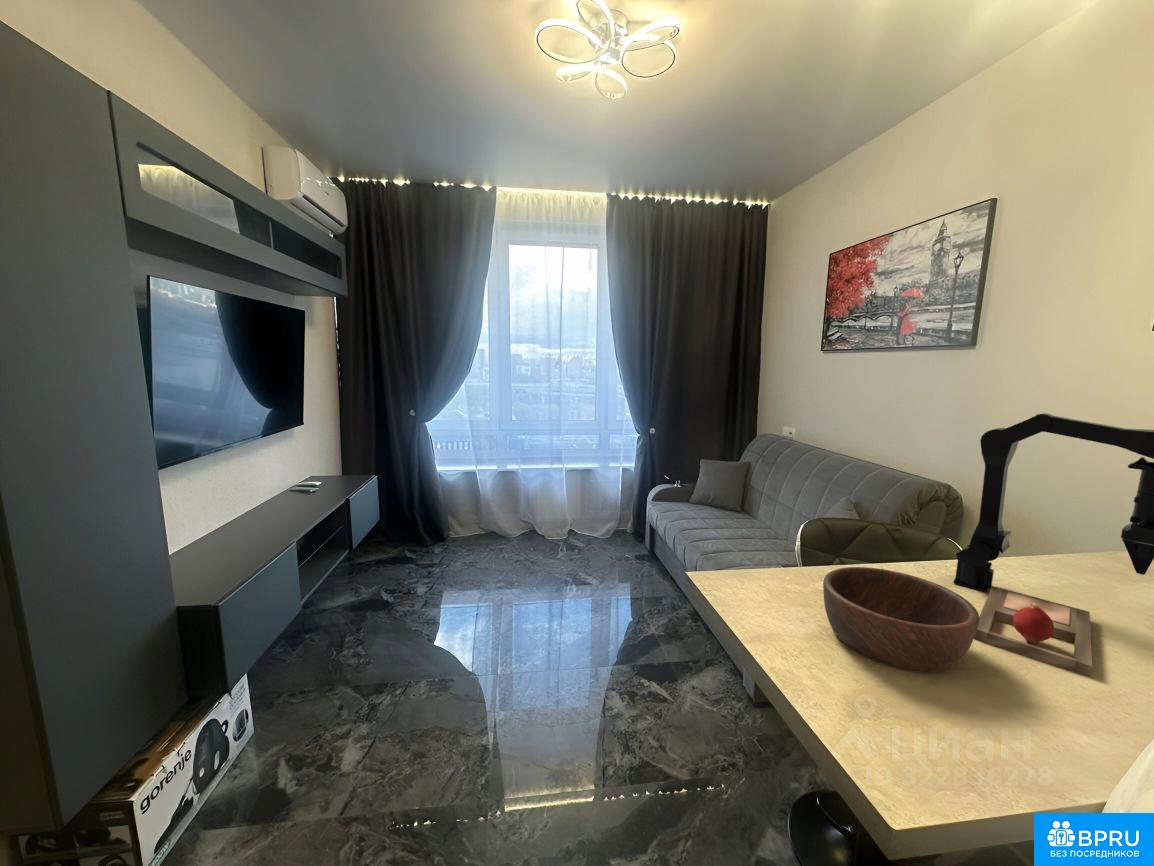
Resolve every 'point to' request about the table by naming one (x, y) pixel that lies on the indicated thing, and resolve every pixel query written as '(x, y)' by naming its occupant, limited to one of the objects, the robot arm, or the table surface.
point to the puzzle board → (1066, 627)
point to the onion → (1033, 624)
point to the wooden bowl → (899, 618)
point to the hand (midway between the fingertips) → (1143, 568)
